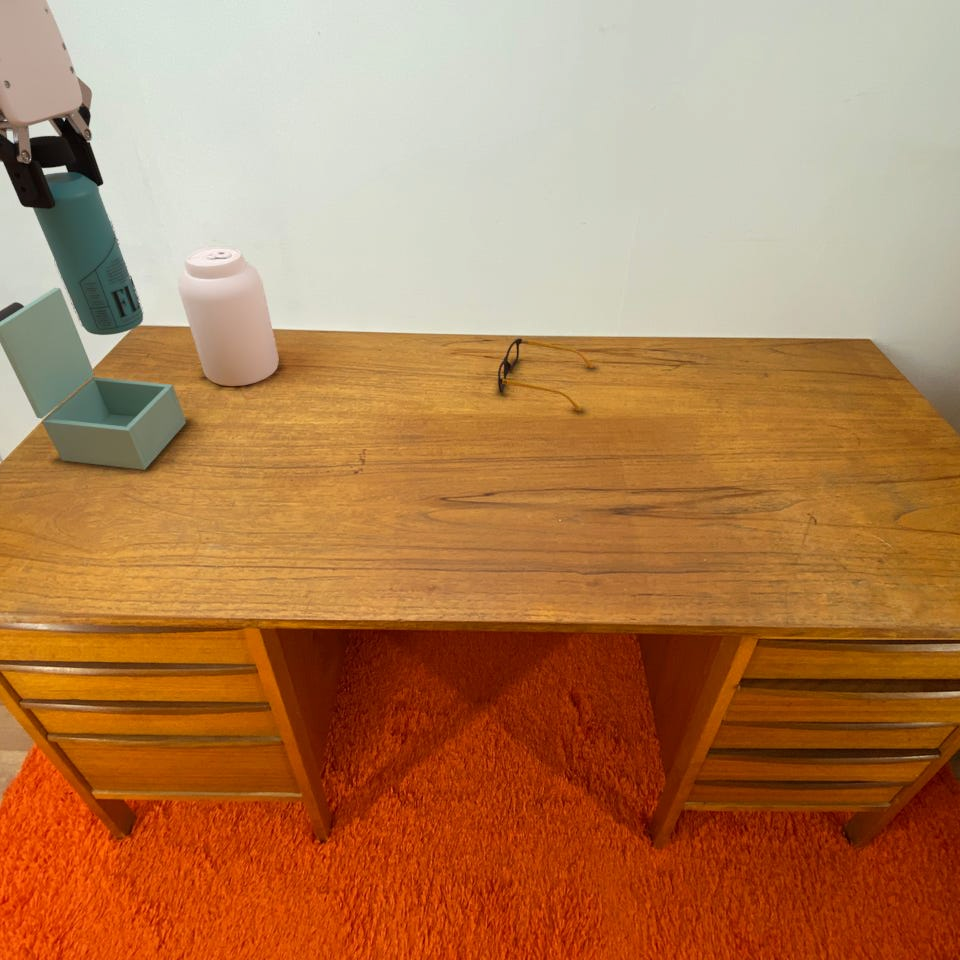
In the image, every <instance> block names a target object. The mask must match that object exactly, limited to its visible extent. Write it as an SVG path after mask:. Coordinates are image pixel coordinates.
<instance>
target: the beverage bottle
mask: <svg viewBox="0 0 960 960" xmlns="http://www.w3.org/2000/svg"><path fill="white" fill-rule="evenodd" d="M30 148H31V161H39V164H40V165H41V168H42V169H52V168H60V167H66V165H69V164H72V163H74V162H75V161H76V159H75V156H74V154H73V152H72V150H71V148H70V146H69V143H68V141H67V140H66V138H64V137H61V136H59V135H41V136H34V137H30ZM44 175H45V178H46V180H47V183H48V185H49V188H50V190H51V193H52V195H53V198H54V201H55V207H53V208H51V209H44V208H32V209H33V212H34V214H35V216H36V219H37V221H38V224H39V226H40V228H41V230H42V233H43V235H44V238H45V240H46V242H47V245H48V247H49V250H50V252H51V254H52V257H53V259H54V260H53V261H54V263H55V269H56V271H57V273H59V277H60V279H61V280H62V281H61V283H62V284H63V287H64V289H65V290H66V294H67V296H68V298H69V301H71V303H70V304H71V306H72V309H73V310H74V312H75V315H76V317H77V319H78V322H79V323H80V324H81V327H83V328H84V329H85V331H86V332H88V333H89V334H92V335H98V336H108V335H109V336H110V335H117V334H123V333H126V332H128V331H131V330H133V329H135V328H138V327H139V325H141V323H142V322H143V320H144V314H145V313H144V311H143V310H144V308H143V306H142V303H141V300H140V299H141V298H140V297H139V294H138V291H137V288H136V285H135V283H134V280H133V277H132V276H131V275H130V272H129V269H128V266H127V265H126V264H127V263H126V261H125V259H124V257H123V253H122V250H121V248H120V243H119V242H120V241H119V238H117V233H116V231H115V230H114V224H113V221H112V220H111V219H110V217H109V215H108V213H107V210H106V206H105V204H104V201H103V199H102V196H101V193H100V188H99V186H97V184H96V183H94V182H93V181H92V180H90V179H88V178H87V177H85V176H83V175H82V174H79V173H73V172H68V171H66V172H65V171H63V172H53V173H52V172H51V173H46V174H44Z"/></svg>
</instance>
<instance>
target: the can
mask: <svg viewBox="0 0 960 960" xmlns="http://www.w3.org/2000/svg"><path fill="white" fill-rule="evenodd" d="M184 266H185V269H184V270H183V272H182V273H181V274H180V276H179V278H178V293H179V296H180V298H181V302H182V305H183V309H184V312H185V315H186V319H187V322H188V324H189V329H190V332H191V335H192V338H193V342H194V345H195V348H196V352H197V355H198V357H199V361H200V365H201V367H202V371H203V374H204V376H205V377H206V378H207V379H208V380H209V381H210V382H212V383H214V384H217V385H220V386H228V387H236V386H237V387H238V386H240V387H241V386H247V385H251V384H255V383H258V382H261V381H263V380H266V379H267V378H269V377H270V376H271V375H273V374H274V373H275V371H276V370H277V369H278V366H279V360H280V358H279V353H278V349H277V344H276V343H277V342H276V339H275V335H274V334H275V333H274V329H273V326H272V320H271V315H270V311H269V307H268V301H267V297H266V292H265V287H264V283H263V279H262V278H261V276H260V274H259V272H258V269H257V268H256V267H255V266H254V265H252V264H250V263H249V262H247V261H246V259H245V257H244V255H243V253H242V252H241V251H240V249H237V248H235V247H231V246H221V245H219V246H208V247H203V248H199V249H196V250H194V251H192V252H190V253H188V254H187V255H186V257H185V259H184Z"/></svg>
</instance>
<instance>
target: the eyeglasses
mask: <svg viewBox="0 0 960 960" xmlns="http://www.w3.org/2000/svg"><path fill="white" fill-rule="evenodd" d="M521 344H522V345H528V346H538V347H543V348H550V349H554V350H555V349H557V350H563V351H569V352H573V353H575V354H577V355H578V356H580V358H581V359H583V361H584V362H585V364H586V365H587V367H588V368H590V369H593V368H594V366H593V364H592V363H591V362H590V361H589V359H588V358H586V356H585V355H583V353H581V352H580V351H578V350H576V349H573V348H571V347H565V346H560V345H555V344H550V343H545V342H541V341H535V340H531V339H530V340H529V339H526V338H525V339H523V338H516V339H515V340H513V342H512V343H511V344H510V345H509V347H508V349H507V351H506V355H505V356H504V357H503V360H502V361H501V363H500V365H499V367H498V371H497V383H498V391H499V393H501V394H503V391H504V388H505V385H506V386H513V387H522V388H527V389H533V390H539V391H544V392H550V393H556V394H559V395H561V396H563V397H564V398H566V399H567V400H568V401H569V402H570V403H571V405H572V406H573V407H574V409H575V410H576V411H578V412H581V410H582V409H581V407H580V406H579V405H578V404H577V403H576V402H575V401H574V400H573V399H572V398H571V397H570V395H568V394H566V393H565V392H562V391H560V390H557V389H554V388H548V387H544V386H538V385H534V384H530V383H526V382H525V383H524V382H520V381H515V380H510V379H507V377H508V374H509V372H512V370H513V368H514V367H515V366H516V363H517V362H518V360H519V356H520V345H521ZM514 345H515V346H516V356H515V359H514V361H513V362H512V364H511V363H510V362H509V356H510V352H511V350H512V348H513V346H514ZM502 368H503V378H502V377H501V373H502V372H501V371H502Z"/></svg>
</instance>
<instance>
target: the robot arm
mask: <svg viewBox="0 0 960 960" xmlns="http://www.w3.org/2000/svg"><path fill="white" fill-rule="evenodd" d="M92 98H93V92H92V90H91V87H89V86H88V85H87V84H86V83H85V82H84V81H83V80H82V79H80V78H79V77H78V76H77V73H76V70H75V67H74V65H73V62H72V59H71V56H70V53H69V50H68V48H67V46H66V43H65V40H64V38H63V35H62V33H61V30H60V28H59V25H58V24H57V21H56V19H55V17H54V14H53V12H52V10H51V7H50V6H49V4H48V1H47V0H0V163H2V164H3V166H4V169H5V171H6V173H7V176H8V177H9V179H10V182H11V184H12V187H13V189H14V191H15V195H16V196H17V199H18V201H19V203H20V205H21V206H22V207H24V208H32V209H33V208H44V209H51V208H53V207H55V201H54V198H53V195H52V193H51V190H50V188H49V185H48V183H47V180H46V178H45V175H46V174H45V172H44V171H43V168H41V165H40V164H39V161H31V148H30V138H31V137H30V128H29V127H30V126H33V125H37V124H39V123H44V122H47V121H48V122H49V123H50V125H51V127H52V128H53V129H54V131H55V132H56V133H57V136H61V137H64V138H66V140H67V141H68V143H69V146H70V148H71V150H72V152H73V154H74V156H75V159H76V161H75V162H74V163H72V164H69V165H66V166H65V168H66V172H73V173H79V174H82V175H83V176H85V177H87V178H88V179H90V180H92V181H93V182H94V183H96V184H97V186H98V187H101V186H103V185H104V180H103V177H102V174H101V171H100V168H99V165H98V162H97V158H96V156H95V153H94V150H93V147H92V144H91V141H92V139H93V133H92V131H91V129H90V124H91V118H92V115H91V111H90V110H91V105H92ZM8 132H12V137H13V138H12V139H13V142H12V141H11V140H10V139H9V138H8Z"/></svg>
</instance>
